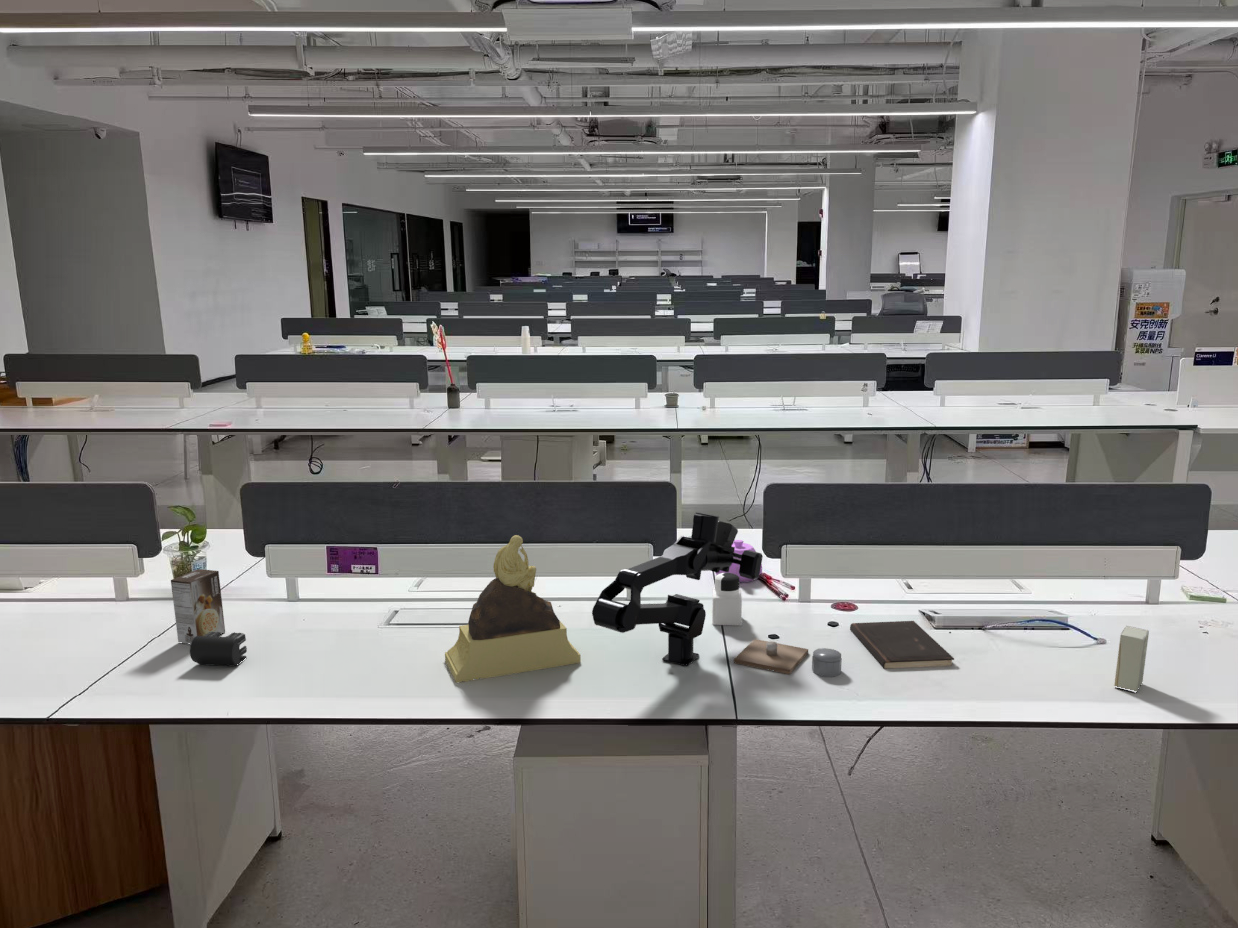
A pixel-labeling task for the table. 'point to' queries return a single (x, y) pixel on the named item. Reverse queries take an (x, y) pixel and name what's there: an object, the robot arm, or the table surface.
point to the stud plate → (771, 656)
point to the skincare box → (1131, 658)
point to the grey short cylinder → (826, 662)
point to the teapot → (739, 549)
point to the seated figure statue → (510, 626)
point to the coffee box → (197, 604)
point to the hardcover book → (900, 644)
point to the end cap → (218, 649)
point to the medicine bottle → (727, 600)
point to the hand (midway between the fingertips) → (743, 556)
